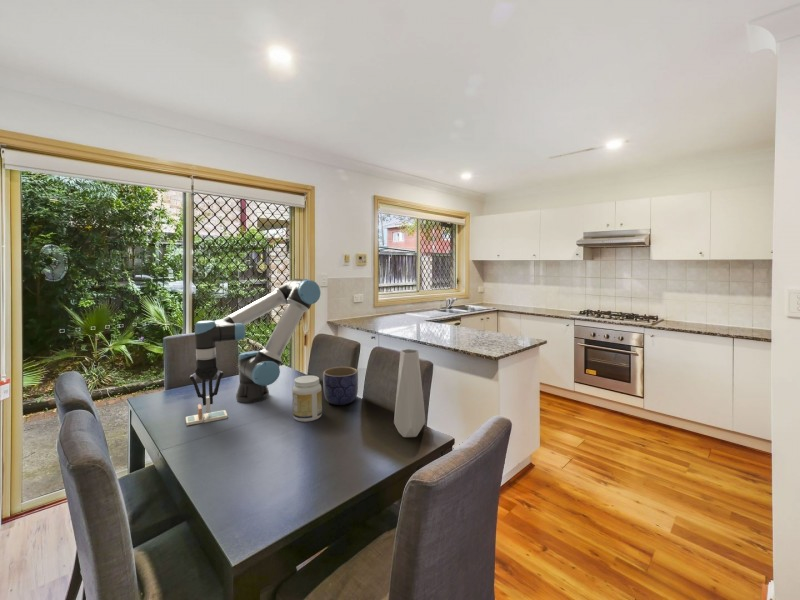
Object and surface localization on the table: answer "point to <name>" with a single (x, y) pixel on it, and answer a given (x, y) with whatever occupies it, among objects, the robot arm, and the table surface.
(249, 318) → the robot arm
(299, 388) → the supplement tub
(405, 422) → the vase
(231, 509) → the table surface
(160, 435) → the table surface
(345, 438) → the table surface
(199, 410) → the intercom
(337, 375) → the planter
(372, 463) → the table surface
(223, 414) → the cream tablet with screen
